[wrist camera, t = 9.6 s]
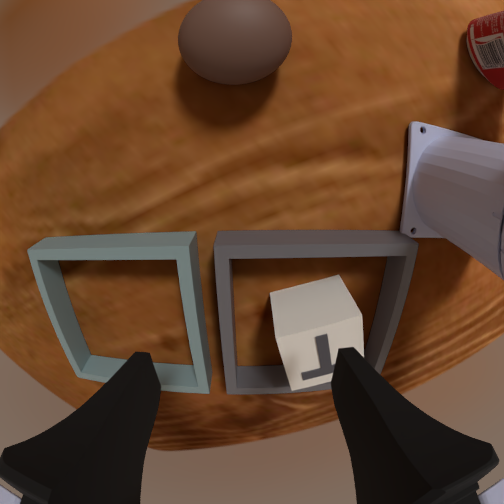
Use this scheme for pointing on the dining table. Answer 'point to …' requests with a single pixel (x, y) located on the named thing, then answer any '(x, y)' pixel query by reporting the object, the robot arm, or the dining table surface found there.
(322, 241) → the tray charcoal
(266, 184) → the dining table surface
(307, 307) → the letter cube
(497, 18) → the beverage can
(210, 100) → the dining table surface
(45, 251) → the teal square frame
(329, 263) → the dining table surface
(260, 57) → the egg
